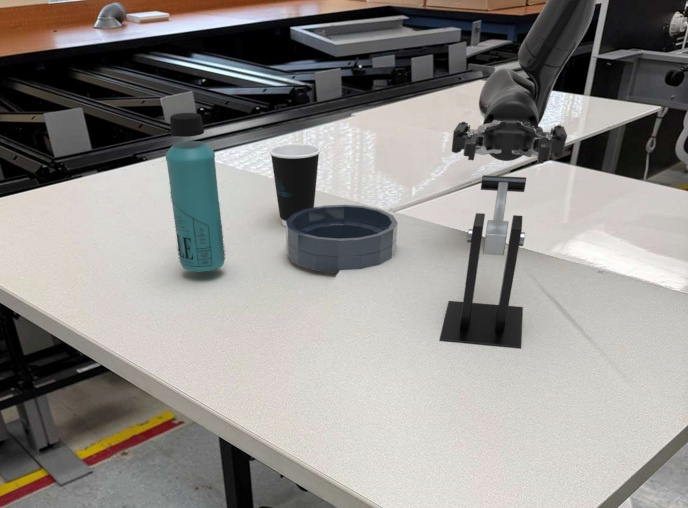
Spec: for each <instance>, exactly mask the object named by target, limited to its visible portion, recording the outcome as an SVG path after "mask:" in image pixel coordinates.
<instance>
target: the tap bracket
mask: <svg viewBox="0 0 688 508" xmlns="http://www.w3.org/2000/svg"><path fill="white" fill-rule="evenodd" d="M485 218H486V213H482V212H480V213H479V212H476V213H475V215H474V221H473V224H472V225H473V226H472V228H468V230H467V237H466V243H468V244H470V248H469V254H468V255H469V256H468V263H467V270H466V278H465V286H464V293H463V299H462V300H463V301H456V300H448V301H447V306H446V310H445V314H444V319H443V322H442V327H441V331H440V336H439V342H447V343H457V344H466V345H467V344H468V345H477V346H486V347H487V346H488V347H499V348H508V349H509V348H510V349H522V341H523V340H522V339H523V338H522V337H523V318H524V317H523V315H524V307H523V306H517V305H510V301H511V300H510V299H511V294H512V288H513V283H514V278H515V277H514V276H515V271H516V265H517V259H518V254H519V248H520V247H523V246H524V243H525V238H526V232H524V231H522V230H523V215H518V214H517V215H516V214H515V215H512V220H511V226H510V232H509V238H508V246H507V251H506V257H505V263H504V269H503V273H502V280H501V287H500V293H499V298H498V304H494V303H493V304H492V303H483V302H482V303H481V302H480V303H479V302H474V296H475V289H476V282H477V275H478V267H479V260H480V253H481V247H482V238H483V233H484V224H485Z"/></svg>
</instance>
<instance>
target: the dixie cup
mask: <svg viewBox="0 0 688 508" xmlns="http://www.w3.org/2000/svg"><path fill="white" fill-rule="evenodd" d="M268 152H269V153H268V154H269V155H270V157H271V164H272V172H273V178H274V179H273V180H274V185H275V186H274V187H275V193H276V200H277V206H278V214H279V218H280V220H281V225H282V226H283V227H285V228H286V220H287V219H288V218H289V217H290V216H291V215H292V214H294V213H297V212H299V211H302V210H304V209H308V208H314V207H315V202H316V201H315V199H316V189H317V178H318V169H319V168H318V167H319V155H320V154H321V152H322V150H321V148H320V146H317V145H314V144H308V143H287V144H286V143H285V144H279V145H276V146H273V147H270V149H269V151H268Z"/></svg>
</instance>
